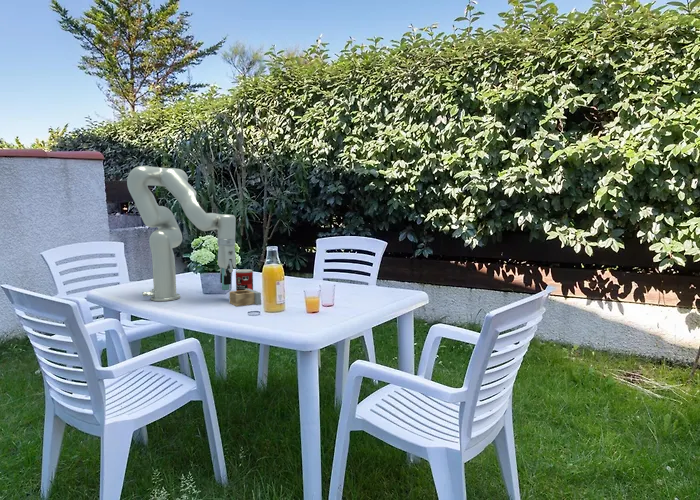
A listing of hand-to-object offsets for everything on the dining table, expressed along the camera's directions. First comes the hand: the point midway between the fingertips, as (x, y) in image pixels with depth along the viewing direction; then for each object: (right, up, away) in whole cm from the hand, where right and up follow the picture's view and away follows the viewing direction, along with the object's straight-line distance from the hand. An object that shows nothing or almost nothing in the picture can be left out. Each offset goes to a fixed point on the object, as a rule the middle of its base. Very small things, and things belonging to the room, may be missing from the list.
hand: (225, 283), depth 217 cm
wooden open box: (+9, -8, -6) cm, 14 cm away
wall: (+13, -8, -3) cm, 15 cm away
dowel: (0, -3, 0) cm, 3 cm away
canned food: (+5, -6, +16) cm, 18 cm away
